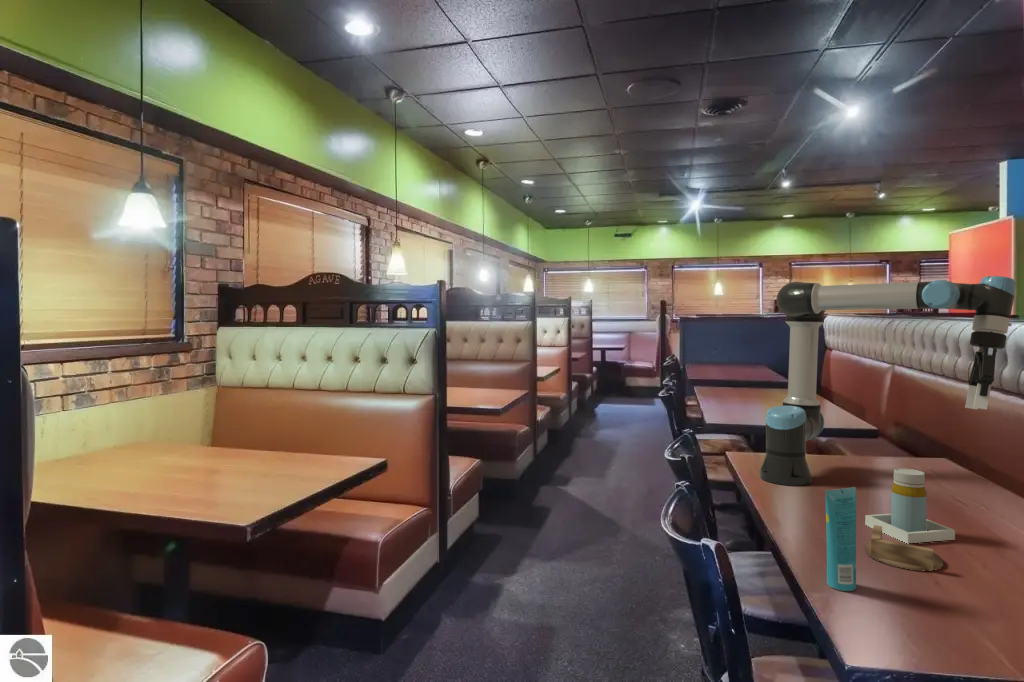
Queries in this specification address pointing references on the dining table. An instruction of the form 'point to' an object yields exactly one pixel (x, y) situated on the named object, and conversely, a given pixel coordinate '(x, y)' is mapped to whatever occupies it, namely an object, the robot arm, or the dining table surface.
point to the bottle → (908, 500)
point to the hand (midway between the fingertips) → (975, 408)
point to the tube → (841, 538)
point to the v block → (902, 553)
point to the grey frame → (934, 533)
